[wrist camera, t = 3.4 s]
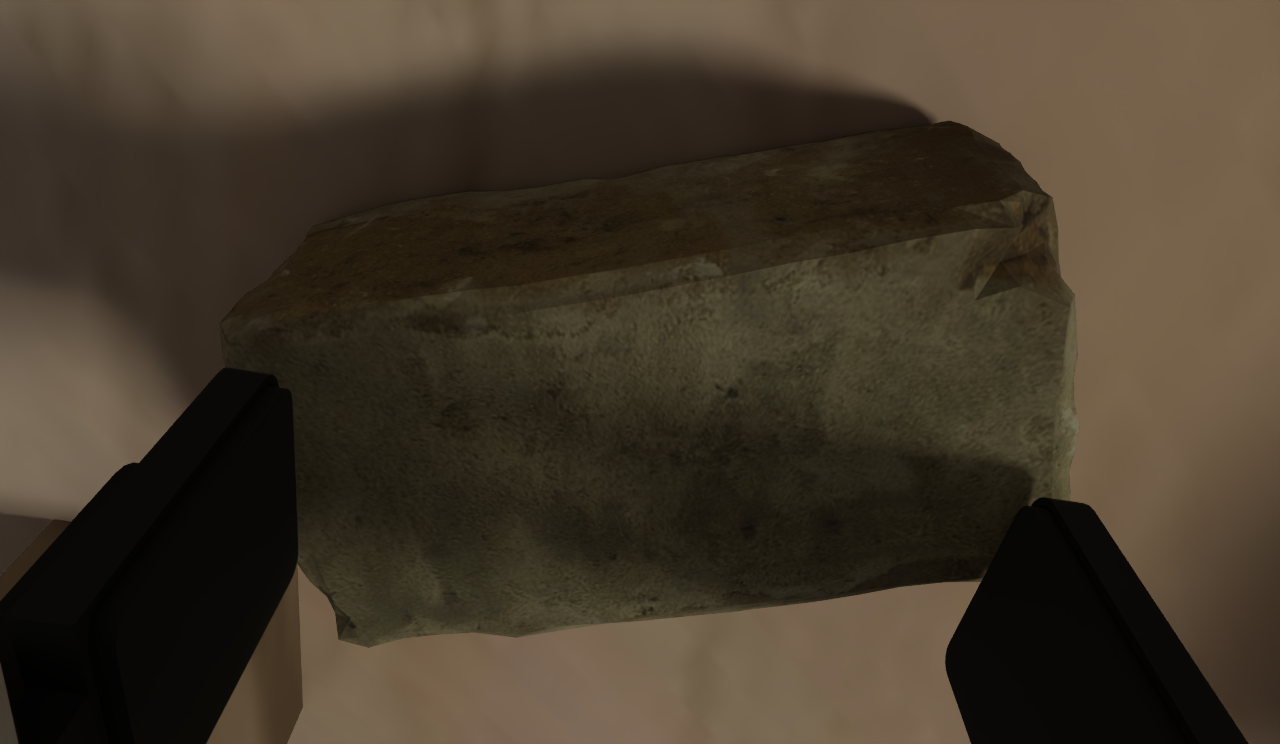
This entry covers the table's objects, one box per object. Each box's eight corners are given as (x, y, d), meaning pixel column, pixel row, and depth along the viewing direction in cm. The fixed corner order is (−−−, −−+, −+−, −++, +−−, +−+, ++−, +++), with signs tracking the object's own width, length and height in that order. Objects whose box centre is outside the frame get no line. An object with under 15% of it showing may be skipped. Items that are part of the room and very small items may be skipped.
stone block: (977, 400, 16) (1089, 598, 12) (394, 478, 17) (304, 681, 13) (982, 86, 13) (1133, 196, 9) (282, 210, 14) (118, 357, 10)
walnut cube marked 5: (298, 552, 18) (178, 775, 14) (303, 704, 21) (204, 935, 16) (56, 516, 18) (-147, 733, 13) (92, 675, 20) (-69, 902, 16)
